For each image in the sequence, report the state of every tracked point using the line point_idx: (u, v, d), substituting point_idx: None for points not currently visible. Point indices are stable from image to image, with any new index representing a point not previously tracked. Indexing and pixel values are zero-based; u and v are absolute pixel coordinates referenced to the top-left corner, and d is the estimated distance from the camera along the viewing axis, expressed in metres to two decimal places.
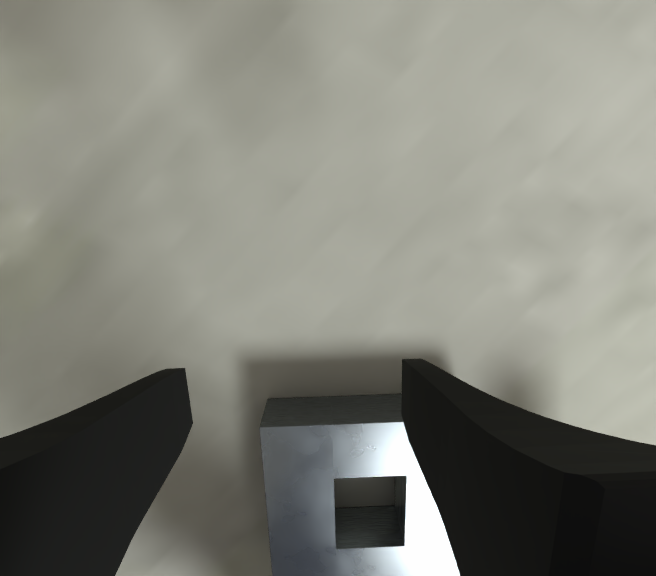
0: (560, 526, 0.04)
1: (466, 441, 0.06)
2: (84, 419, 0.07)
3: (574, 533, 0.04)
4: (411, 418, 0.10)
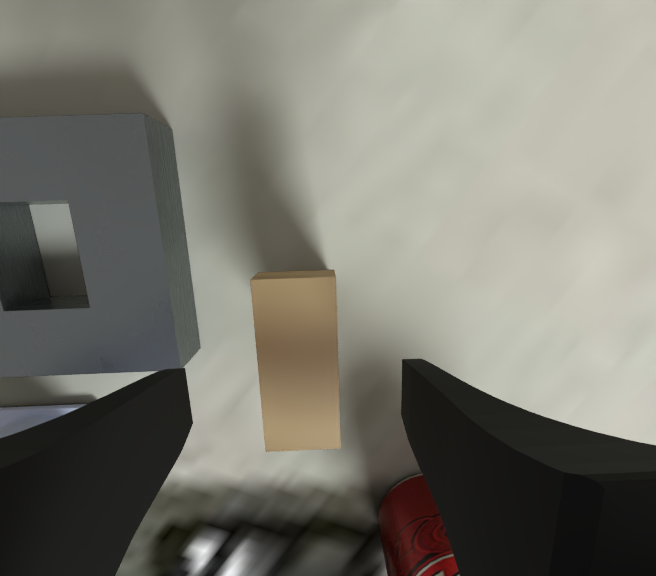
0: (560, 526, 0.04)
1: (466, 441, 0.06)
2: (84, 420, 0.07)
3: (574, 532, 0.04)
4: (411, 418, 0.10)
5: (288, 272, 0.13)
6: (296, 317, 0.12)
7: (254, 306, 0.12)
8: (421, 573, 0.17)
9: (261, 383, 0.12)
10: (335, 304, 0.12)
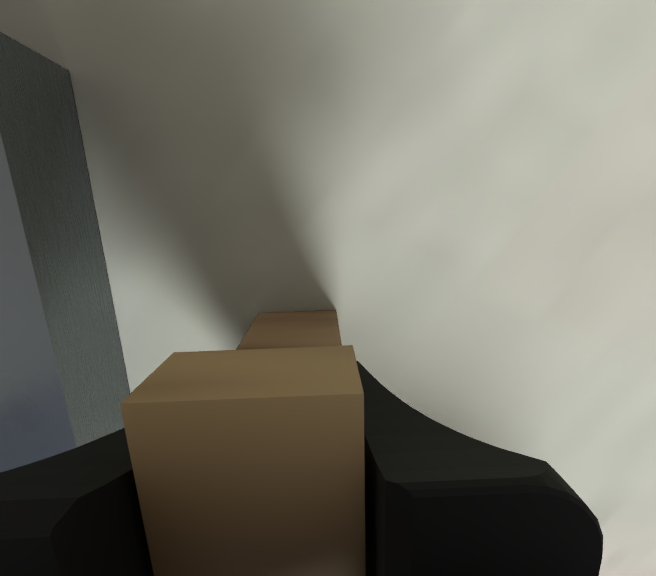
0: (389, 534, 0.04)
1: None
2: None
3: (398, 541, 0.04)
4: None
5: (243, 356, 0.05)
6: (255, 495, 0.04)
7: (137, 470, 0.04)
8: None
9: None
10: (361, 462, 0.04)
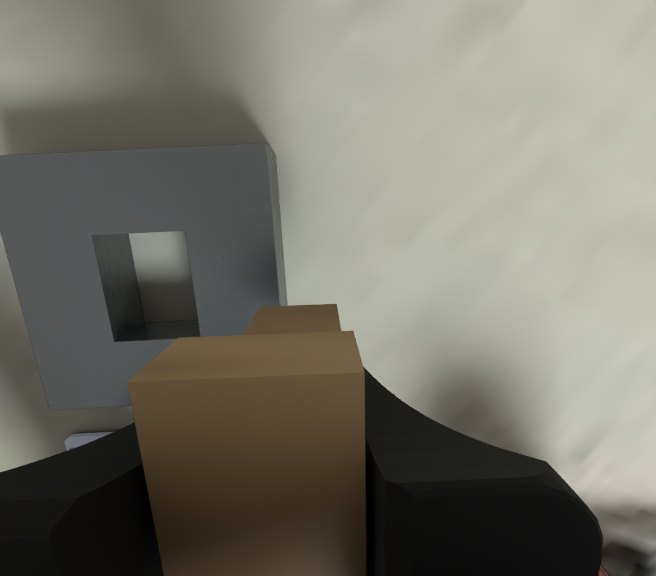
0: (389, 534, 0.04)
1: None
2: None
3: (397, 541, 0.04)
4: None
5: (246, 341, 0.05)
6: (258, 473, 0.04)
7: (144, 448, 0.04)
8: None
9: None
10: (362, 440, 0.04)
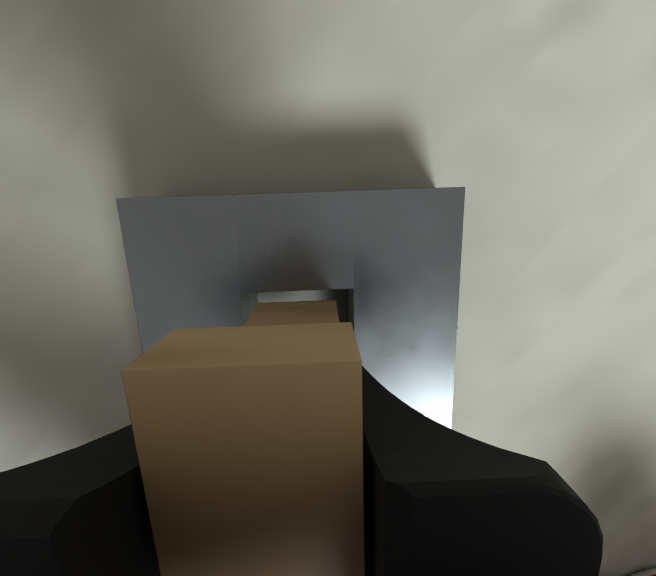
0: (389, 534, 0.04)
1: None
2: None
3: (397, 541, 0.04)
4: None
5: (242, 331, 0.05)
6: (255, 464, 0.04)
7: (139, 438, 0.04)
8: None
9: None
10: (359, 430, 0.04)
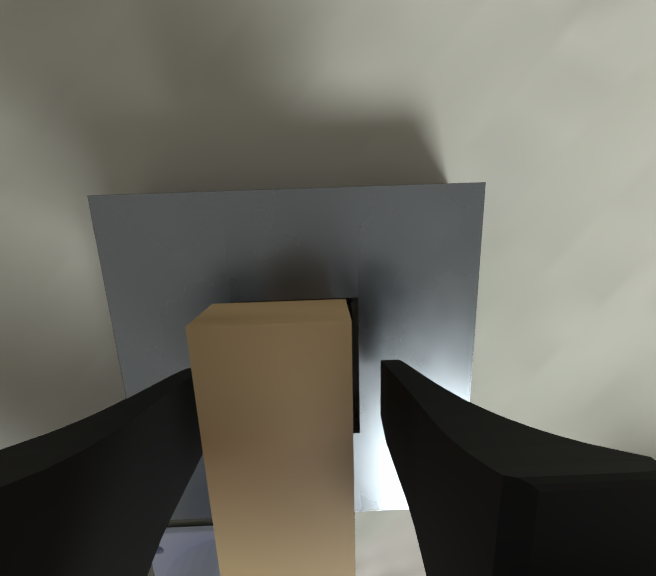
0: (501, 528, 0.04)
1: (430, 442, 0.06)
2: (118, 418, 0.07)
3: (513, 534, 0.04)
4: (388, 418, 0.10)
5: (264, 305, 0.07)
6: (276, 395, 0.06)
7: (195, 375, 0.06)
8: None
9: (214, 507, 0.07)
10: (350, 371, 0.06)
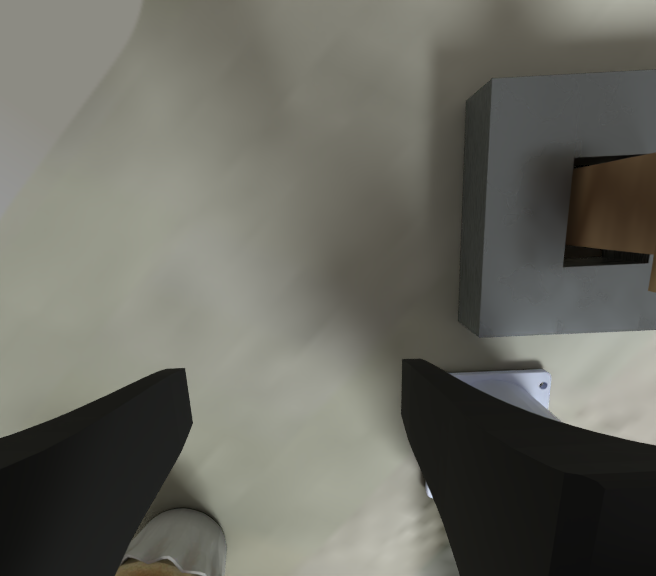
0: (560, 526, 0.04)
1: (466, 441, 0.06)
2: (84, 419, 0.07)
3: (574, 532, 0.04)
4: (411, 417, 0.10)
5: None
6: None
7: None
8: None
9: None
10: None
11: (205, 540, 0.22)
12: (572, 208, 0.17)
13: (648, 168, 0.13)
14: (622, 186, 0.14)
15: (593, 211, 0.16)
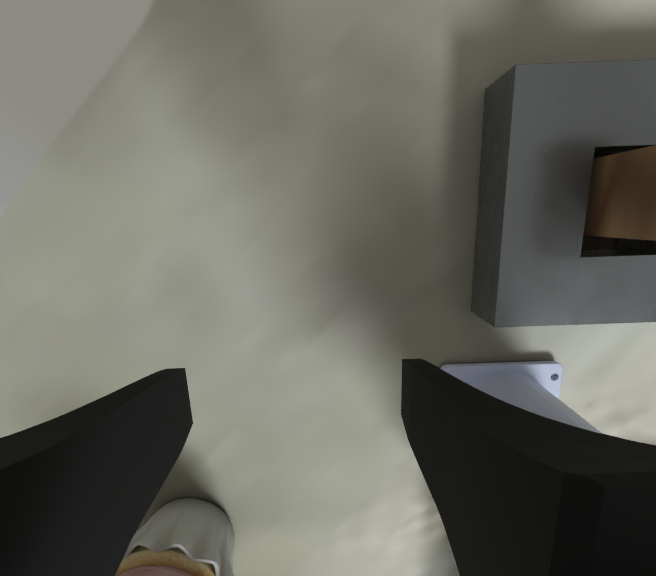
0: (560, 526, 0.04)
1: (466, 441, 0.06)
2: (84, 419, 0.07)
3: (574, 532, 0.04)
4: (411, 418, 0.10)
5: None
6: None
7: None
8: None
9: None
10: None
11: (214, 529, 0.22)
12: (590, 198, 0.17)
13: None
14: (644, 175, 0.14)
15: (613, 200, 0.16)
